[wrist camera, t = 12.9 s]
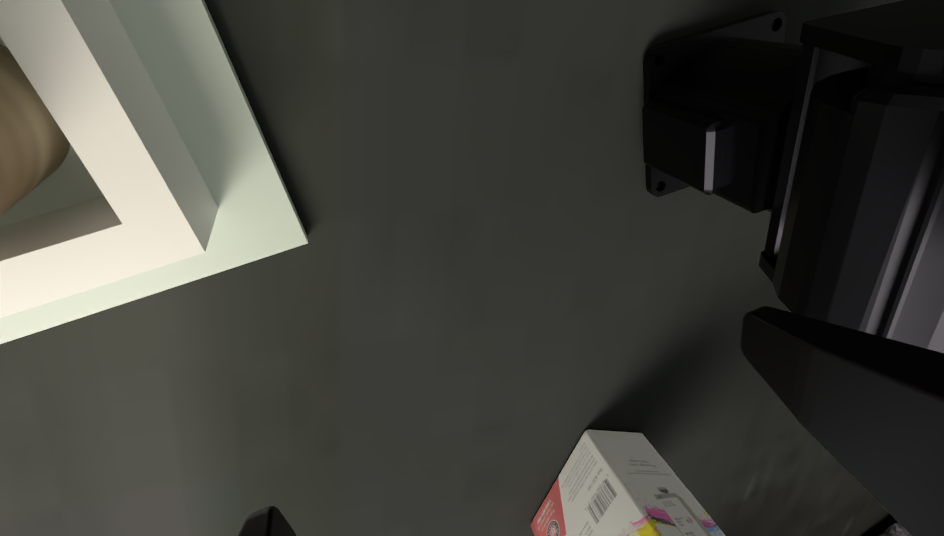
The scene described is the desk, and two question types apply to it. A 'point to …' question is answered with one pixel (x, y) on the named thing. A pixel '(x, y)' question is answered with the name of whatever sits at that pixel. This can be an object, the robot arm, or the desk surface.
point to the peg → (24, 135)
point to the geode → (895, 531)
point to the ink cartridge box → (620, 493)
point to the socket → (134, 161)
